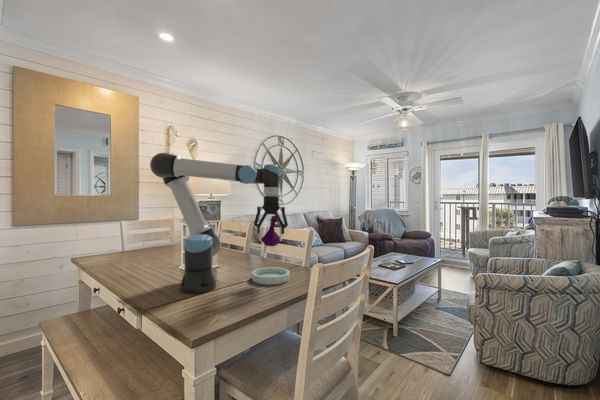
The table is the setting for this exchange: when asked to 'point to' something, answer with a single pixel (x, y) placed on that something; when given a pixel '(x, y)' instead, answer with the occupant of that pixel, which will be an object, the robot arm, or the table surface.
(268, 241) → the perfume bottle
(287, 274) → the round tray
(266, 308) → the table surface
